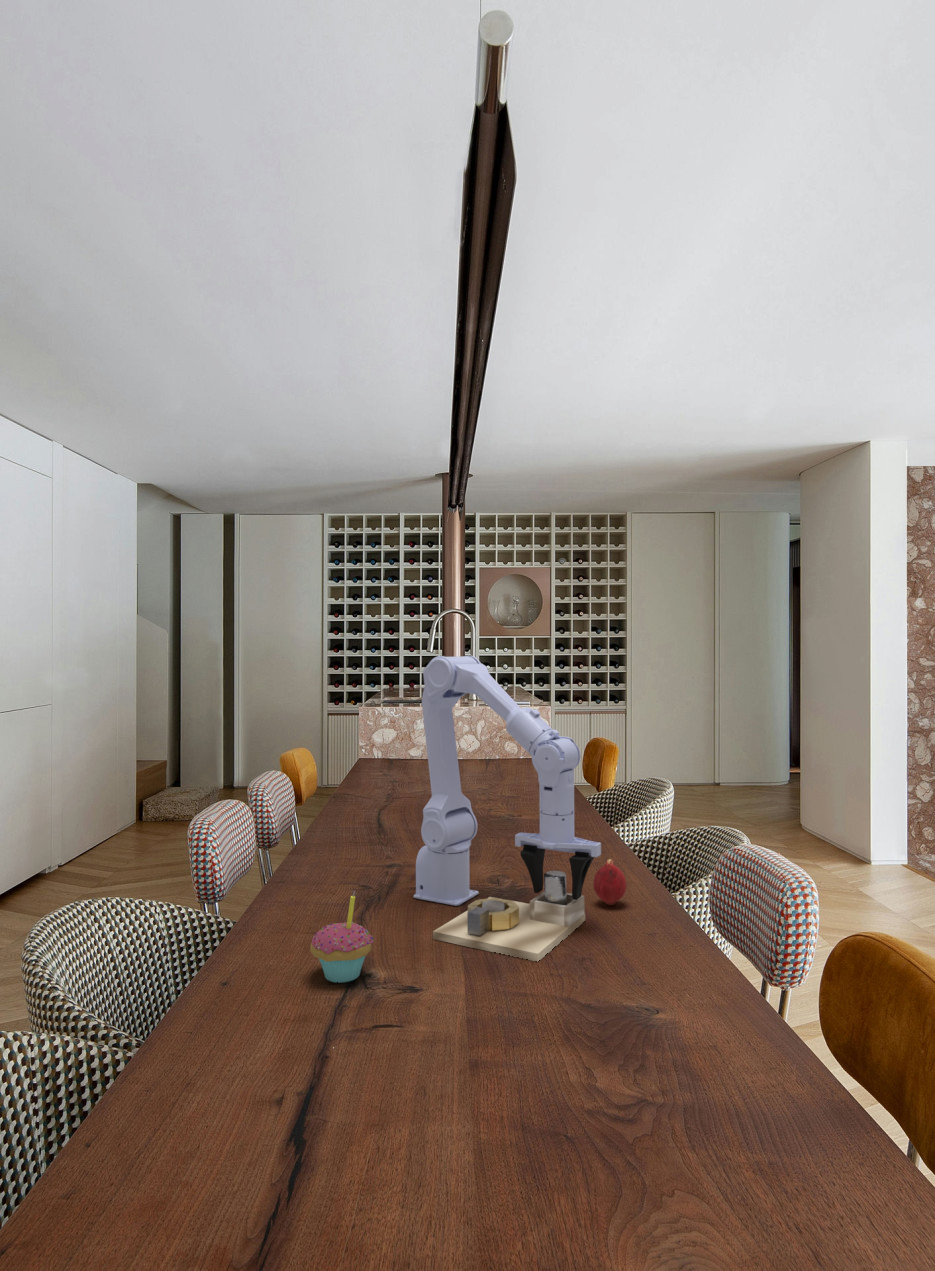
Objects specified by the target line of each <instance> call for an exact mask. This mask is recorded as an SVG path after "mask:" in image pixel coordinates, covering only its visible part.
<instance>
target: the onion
mask: <svg viewBox="0 0 935 1271" xmlns="http://www.w3.org/2000/svg"><path fill="white" fill-rule="evenodd" d="M592 883H593V889H594V893H595V894H596V895H597V896H598V898H599V899H600V901H602V902H603V903H605V904H606V905H608V906H612V905H615V903H617V902H618V901H620V899H622V898H623V897H624V895H625V893H626V892H627V879H626V876H625V874H624V872H623V871H622V870H621V869H620V868H619V867H618V866H617V865H615V864H614V860H613V859H610V858H609V859H607V860H606V863H605V864H604V865H602V866H601V867H600V868H598V870H597V871H596V873H595V874H594V876H593V882H592Z"/></svg>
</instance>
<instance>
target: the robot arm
mask: <svg viewBox="0 0 935 1271" xmlns="http://www.w3.org/2000/svg"><path fill="white" fill-rule="evenodd" d="M489 672H490V671H489V669H488V667H487V666H486V665H485V664H483V663H481V661H480V660H479V659H478V658H477V657H476V656H474V655H465V656H445V655H438V656H435V657H433V658H432V659H430V661H429V662H428V663H427V665H426V666H425V668H424V669H423V671H422V673H423V685H424V688H423V692H422V698H421V708H422V716H423V727H424V734H425V744H426V745H425V746H426V754H427V763H428V773H429V781H430V790H431V791H430V792H431V797H430V798H429V800H428V802H426V805H425V806H424V808H423V810H422V816H423V819H422V824H421V827H420V828H421V829H420V835H421V839H422V841H423V843H424V844H425V845H423V846H422V847H420V849H419V851H418V853H417V856H416V860H415V894H414V895H413V898H415V899H418V900H423V901H429V902H434V903H439V904H445V905H450V906H455V907H457V906H461V905H462V904H464V903H465V902H467V901H469V900H470V899H472V898H474V897H475V896H477V895H478V894H479V891H478V890H474V889H470V847H471V846H472V840H473V839H474V838H475V837H476V835H477V833H478V820H477V818H476V815H475V814H474V812H473V809H472V803H471V800H470V799H469V798H468V797H466V796H465V794H463V793H462V792H463V791H462V784H461V776H460V767H459V759H458V748H457V739H456V732H455V724H454V722H455V721H454V712H453V708H454V706H455V705H456V704H457V703H458V702H459V701H460V699H461V698H462V697H463V696H465V695H467V694H471V695H475V696H476V697H478V698H479V700H481V702H483V703H484V704H485V705H487V706H488V707H489V708H490V709H492V711H494V712H495V713H496V714H497V715H498V716H499V717H501V718H502V719H503V720H504V721H505V722H506V723H505V724H506V727H505V729H506V732H507V734H508V735H510V736H511V737H512V738H513V740H515V741H516V743H517V744H519V746H521V747H522V748H523V749H524V751H526V752H527V753H528V754H529V755H530V756H531V762H532V766H533V767H534V769H535V771H536V773H537V776H538V777H537V779H538V780H537V782H538V784H539V786H538V787H539V788H538V789H539V793H538V794H539V795H538V796H539V833H534V832H532V833H530V832H518V833H516V834H515V835H514V846H515V847H519V848H520V847H521V848H522V847H523V848H522V850H520V851H519V852H520V857H521V859H522V861H523V862H524V864H525V867H526V869H527V872H528V874H529V876H530V880H531V884H532V888H533V893H534V894H540V892H542V891H544V861H545V853H546V850H548V851H549V850H550V851H556V852H565V853H572V854H573V855H572V856H571V857H568V858H569V859H568V860H569V866H570V870H571V872H570V873H571V879H572V880H571V881H572V883H571V885H572V886H571V894H572V898H573V899H574V900H577V899H579V898H580V897H581V895H582V892H583V887H584V883H585V880H586V876H587V874H588V872H589V870H590V867H591V864H592V862H593V860H594V859H595V858H598V857H600V856H601V855H602V843H601V842H597V841H592V840H589V839H584V838H581V837H576V836H575V769H576V768H577V767H578V766H579V763H580V762H581V751H580V748H579V746H578V745H577V744H576V742H575V741H574V739H573V738H572V737H569V736H561V735H560V731H558V730H557V729H553V728H552V727H551V726H550V725H549V724H548V723H547V722H546V721H545V720H543V718H541V712H540V711H539V710H537V709H532V708H531V707H527V706H526V707H525V706H524V707H520V706H519V704H517V702H516V701H515V700H514V699H513V698H512V697H511V696H510V695H509V694H508V693H507V692H506V690H504V688H503V687H502V686H501V685H500V684H499V682H497V680H495V679H494V678H493V676H492V675H491V674H490V673H489Z"/></svg>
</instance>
